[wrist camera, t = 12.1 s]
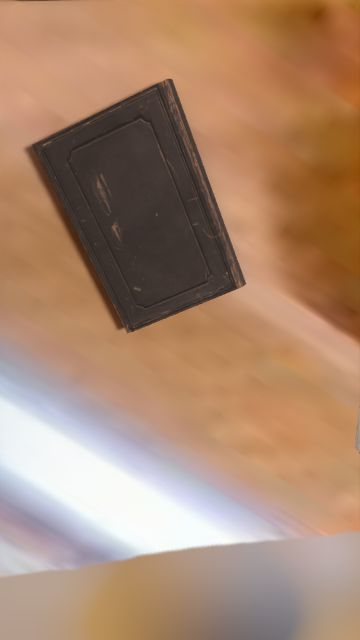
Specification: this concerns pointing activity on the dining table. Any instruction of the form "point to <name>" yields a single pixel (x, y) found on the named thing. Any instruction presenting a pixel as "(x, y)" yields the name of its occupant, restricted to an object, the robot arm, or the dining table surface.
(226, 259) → the hardcover book
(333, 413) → the dining table surface
